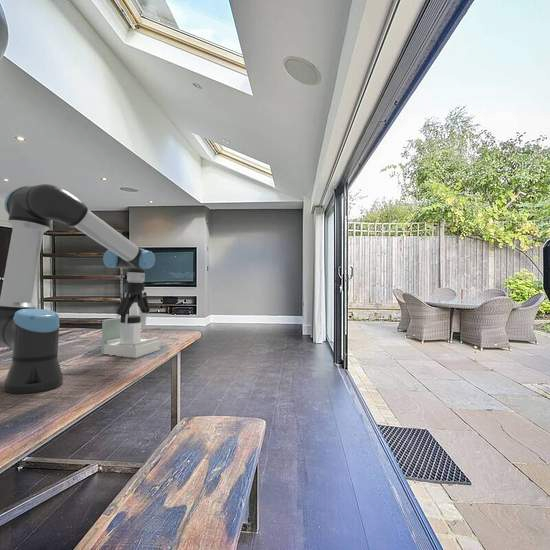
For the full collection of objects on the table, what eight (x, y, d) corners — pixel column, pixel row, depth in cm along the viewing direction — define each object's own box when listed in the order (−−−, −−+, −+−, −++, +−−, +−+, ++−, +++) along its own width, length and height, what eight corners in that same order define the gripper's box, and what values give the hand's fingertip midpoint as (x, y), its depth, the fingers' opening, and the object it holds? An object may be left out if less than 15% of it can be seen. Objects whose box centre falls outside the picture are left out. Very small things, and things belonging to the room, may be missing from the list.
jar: (142, 343, 156) (143, 317, 156) (123, 345, 151) (124, 318, 151) (136, 340, 163) (137, 315, 163) (117, 342, 158) (119, 315, 158)
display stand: (135, 357, 148) (137, 322, 148) (101, 354, 152) (102, 320, 153) (159, 349, 166) (160, 318, 166) (127, 346, 170) (129, 316, 170)
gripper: (124, 282, 146) (122, 332, 146) (158, 282, 170) (156, 325, 170) (109, 281, 148) (107, 331, 148) (145, 282, 172) (143, 324, 172)
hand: (133, 328), depth 159 cm, fingers open, 13 cm apart
